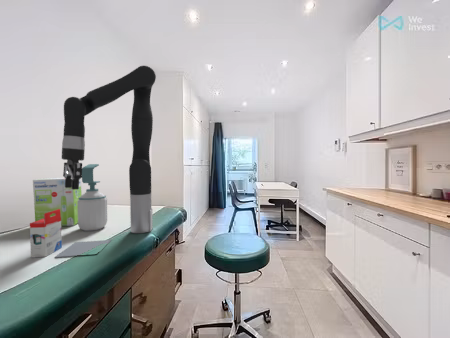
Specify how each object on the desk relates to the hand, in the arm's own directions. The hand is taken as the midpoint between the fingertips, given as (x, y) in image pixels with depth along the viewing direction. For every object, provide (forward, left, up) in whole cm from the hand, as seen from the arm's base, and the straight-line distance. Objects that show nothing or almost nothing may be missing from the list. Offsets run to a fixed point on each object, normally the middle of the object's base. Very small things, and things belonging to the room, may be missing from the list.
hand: (71, 188), depth 88 cm
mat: (-9, +10, -21) cm, 25 cm away
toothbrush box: (+19, -29, -22) cm, 41 cm away
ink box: (+3, +11, -22) cm, 24 cm away
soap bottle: (-1, -18, -22) cm, 28 cm away
